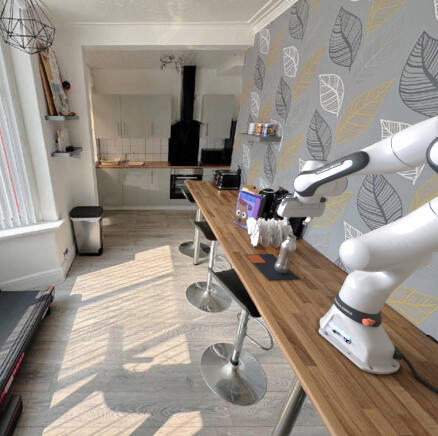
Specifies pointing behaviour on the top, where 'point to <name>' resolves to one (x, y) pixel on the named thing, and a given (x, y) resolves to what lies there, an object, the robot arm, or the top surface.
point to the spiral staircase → (268, 231)
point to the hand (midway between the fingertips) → (295, 225)
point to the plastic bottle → (285, 254)
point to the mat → (270, 267)
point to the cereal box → (248, 208)
